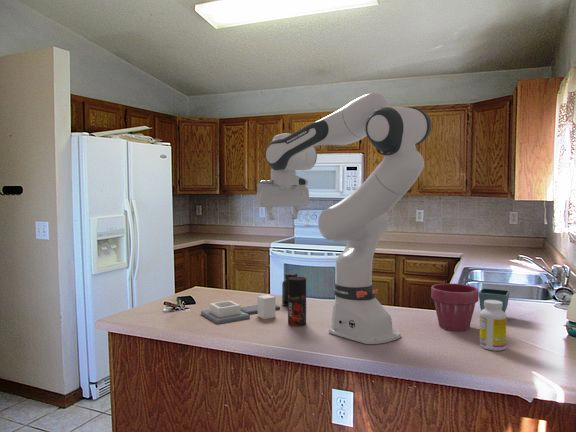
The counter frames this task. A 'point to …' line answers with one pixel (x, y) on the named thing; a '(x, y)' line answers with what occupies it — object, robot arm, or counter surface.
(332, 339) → the counter surface
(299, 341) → the counter surface
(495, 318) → the supplement bottle
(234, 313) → the dock
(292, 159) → the robot arm
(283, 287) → the supplement bottle
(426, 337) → the counter surface
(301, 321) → the deodorant
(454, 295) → the plant pot
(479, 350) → the counter surface
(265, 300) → the block
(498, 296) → the flower pot
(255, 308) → the phone
